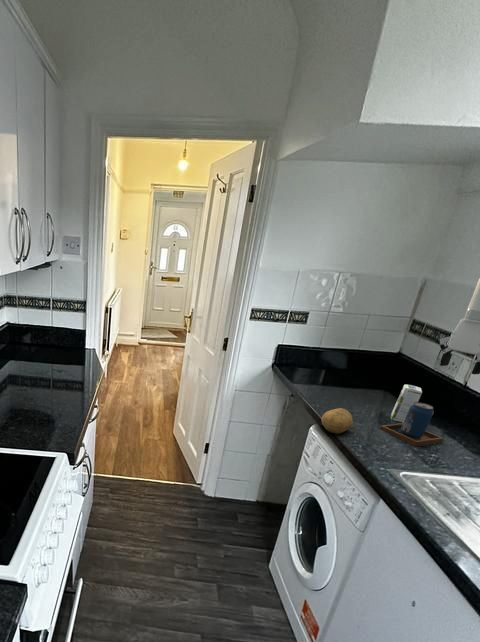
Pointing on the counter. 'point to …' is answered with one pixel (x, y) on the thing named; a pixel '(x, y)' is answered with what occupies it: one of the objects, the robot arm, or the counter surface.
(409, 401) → the syrup box
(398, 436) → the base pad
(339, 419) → the potato
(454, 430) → the counter surface
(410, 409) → the soda can
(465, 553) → the counter surface
